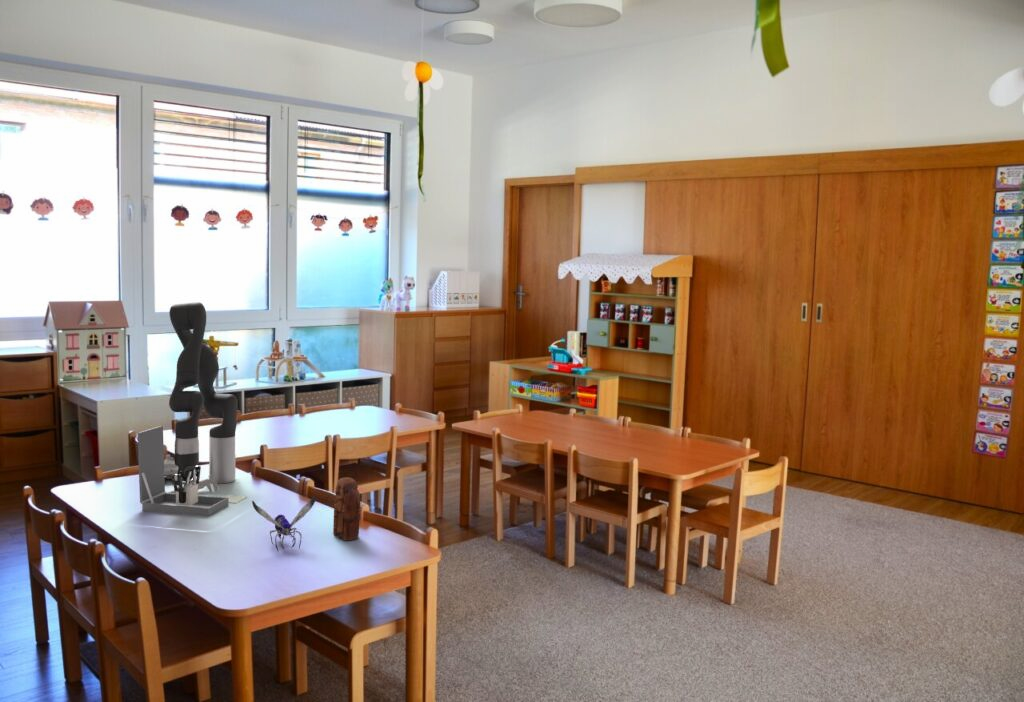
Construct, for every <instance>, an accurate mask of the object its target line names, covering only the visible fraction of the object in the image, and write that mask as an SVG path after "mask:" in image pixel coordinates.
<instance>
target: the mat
mask: <svg viewBox="0 0 1024 702" xmlns="http://www.w3.org/2000/svg"><path fill="white" fill-rule="evenodd" d="M222 497H224V498H228V504H238V503H240V502H241V501H243V500H245V499H247V498H248V496H242V495H233V494H231V495H230V494H229V495H228V494H225V495H223V496H222Z"/></svg>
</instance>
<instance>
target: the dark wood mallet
mask: <svg viewBox="0 0 1024 702" xmlns="http://www.w3.org/2000/svg"><path fill="white" fill-rule="evenodd" d="M358 488H359V486H358V483H357V482H356V480H355V479H353V478H352V477H347V476H346V477H341V478H339V479H338V480H337V482H336V486H335V500H334V507H333V531H332V532H333V533H332V534H333V536H334V537H337V538H338V539H340V540H341V539H342V540H344V541H349V542H350V541H352V540H353V541H354V540H357V539H358V538H359V534H360V520H361V513H360V512H361V494H360V491H359V490H358Z"/></svg>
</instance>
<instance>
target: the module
mask: <svg viewBox="0 0 1024 702" xmlns="http://www.w3.org/2000/svg"><path fill="white" fill-rule="evenodd" d="M183 486H184V485H183ZM177 488H178V485H177ZM198 495H199V490H198V484H188V485H187V487H186V502H185V503H179V492H178V491H176V505H186V506H191V505H193V504H195V503H196V502H198Z"/></svg>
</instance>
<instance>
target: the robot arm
mask: <svg viewBox="0 0 1024 702" xmlns="http://www.w3.org/2000/svg"><path fill="white" fill-rule="evenodd" d="M169 319H170V321H171V322H170V323H171V325H172V327H173V329H174V332H175V333H176V335H177V337H178V339H179V341H180V343H181V345H182V347H183V349H182V351H181V352H180V353H179V356H178V359H177V362H176V374H175V375H176V377H175V381H174V382H175V383H174V386H173V389H172V390H171V394H170V396H169V401H168V405H169V408H170V410H171V411H172V412H174V413H191V415H189V416H188V417H186V418H184V417H183V418H181V419H177V420H176V422H175V440H174V461H175V465H176V466H178V467H179V468H178V473H177V474H176V475H174V474H173V476H172V478H173V480H172V483H173V490H174V491H178V492H179V503H185V502H186V487H187V485H188V484H199V481H200V477H201V469H202V468H201V467H202V466H201V465H199V463H200V441H199V423H200V422H199V421H200V416H201V413H202V411H203V410H202V409H203V408H204V412H205V413H206V415H207V417H209V418H214V419H215V418H216V419H222V423H221V424H220V425H217V426H214V427H211V428H210V429H209V431H208V433H209V435H208V436H209V446H208V447H209V448H208V449H209V451H208V452H209V464H208V465H209V466H208V467H209V468H208V469H209V470H208V474H209V475H208V477H209V476H210V477H211V475H212V474H213V476H214V477H216V481H217V484H227V483H232V482H235V480H236V430H237V426H238V425H237V423H238V422H237V421H238V420H237V419H238V406H239V405H238V399H237V397H236V396H235V394H230V393H218V392H217V391H215V390H216V389H215V387H214V382H215V381H216V379H217V377H218V374H219V370H220V366H219V365H220V364H219V362H218V360H217V357H216V354H215V351H214V350H213V349H212V348H211V347H210V346H209V345H207V344H206V343H205V342H204V338H205V332H206V326H207V311H206V308H205V305H204V304H203V303H202V302H199V301H197V302H194V301H193V302H184V303H177V304H173V305H172V306H170V308H169ZM195 386H197V387H198V390H184V389H187V388H191V387H195ZM183 485H184V486H183ZM177 486H178V488H177Z"/></svg>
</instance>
